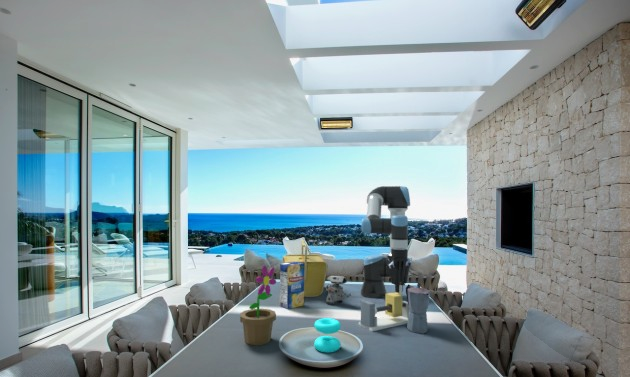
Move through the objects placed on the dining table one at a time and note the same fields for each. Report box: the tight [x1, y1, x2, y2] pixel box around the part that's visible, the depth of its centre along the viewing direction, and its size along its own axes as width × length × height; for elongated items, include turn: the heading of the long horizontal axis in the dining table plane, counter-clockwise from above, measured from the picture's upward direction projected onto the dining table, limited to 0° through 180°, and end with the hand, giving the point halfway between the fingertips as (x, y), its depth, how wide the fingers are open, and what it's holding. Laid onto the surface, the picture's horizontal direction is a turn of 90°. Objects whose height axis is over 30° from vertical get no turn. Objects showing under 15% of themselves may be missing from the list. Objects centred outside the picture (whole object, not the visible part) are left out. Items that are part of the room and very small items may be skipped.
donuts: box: [313, 317, 342, 353], centre depth 135 cm, size 10×10×10 cm
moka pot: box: [405, 283, 431, 334], centre depth 156 cm, size 10×15×20 cm, turn 27°
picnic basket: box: [281, 239, 329, 298], centre depth 219 cm, size 29×26×30 cm
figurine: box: [325, 275, 352, 306], centre depth 193 cm, size 9×12×15 cm
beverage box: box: [279, 262, 305, 310], centre depth 189 cm, size 7×11×22 cm, turn 131°
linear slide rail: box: [358, 299, 410, 332], centre depth 163 cm, size 26×9×11 cm, turn 121°
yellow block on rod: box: [384, 292, 403, 317], centre depth 165 cm, size 5×6×9 cm
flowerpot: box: [239, 265, 277, 346], centre depth 142 cm, size 14×14×30 cm
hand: (399, 299), depth 167 cm, fingers closed
